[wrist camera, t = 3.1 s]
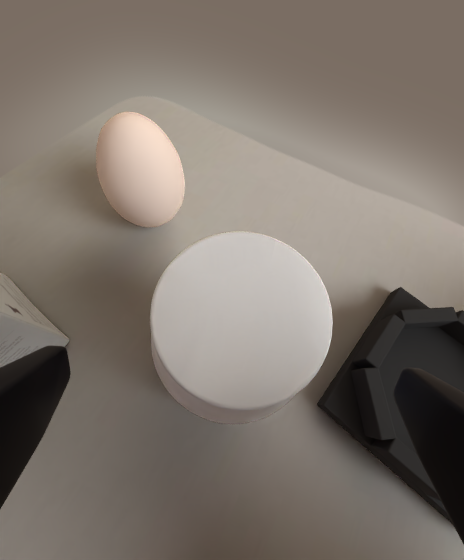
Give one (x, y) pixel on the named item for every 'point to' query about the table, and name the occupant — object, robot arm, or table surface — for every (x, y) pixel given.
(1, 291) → the white cardboard box
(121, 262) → the table surface
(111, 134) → the egg
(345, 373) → the foot pad
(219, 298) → the pill bottle
